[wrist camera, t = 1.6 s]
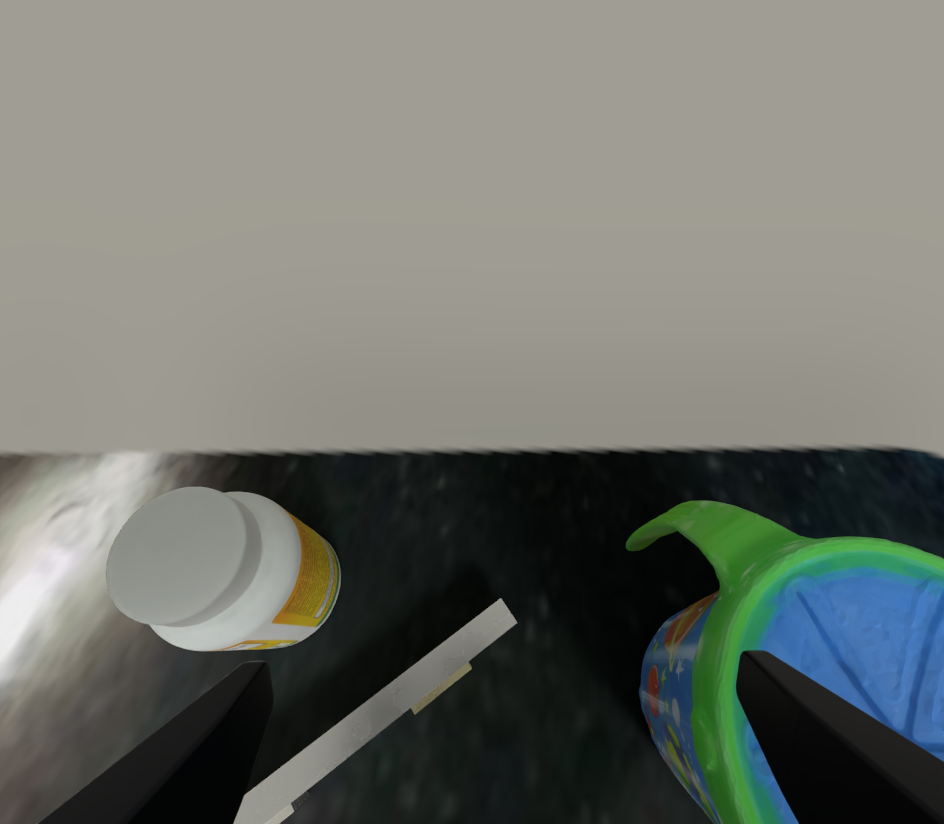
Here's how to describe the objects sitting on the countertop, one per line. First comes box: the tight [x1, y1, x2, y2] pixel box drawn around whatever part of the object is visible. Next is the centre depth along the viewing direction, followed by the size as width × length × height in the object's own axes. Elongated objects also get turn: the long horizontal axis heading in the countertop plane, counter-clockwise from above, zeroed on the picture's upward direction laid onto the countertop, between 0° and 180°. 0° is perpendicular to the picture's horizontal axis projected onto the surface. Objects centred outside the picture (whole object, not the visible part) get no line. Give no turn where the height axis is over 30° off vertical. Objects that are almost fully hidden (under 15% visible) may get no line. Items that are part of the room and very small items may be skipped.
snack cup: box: [626, 501, 944, 824], centre depth 15 cm, size 16×10×10 cm
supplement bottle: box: [106, 487, 341, 651], centre depth 17 cm, size 5×5×10 cm
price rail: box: [233, 598, 517, 824], centre depth 18 cm, size 16×2×2 cm, turn 125°
